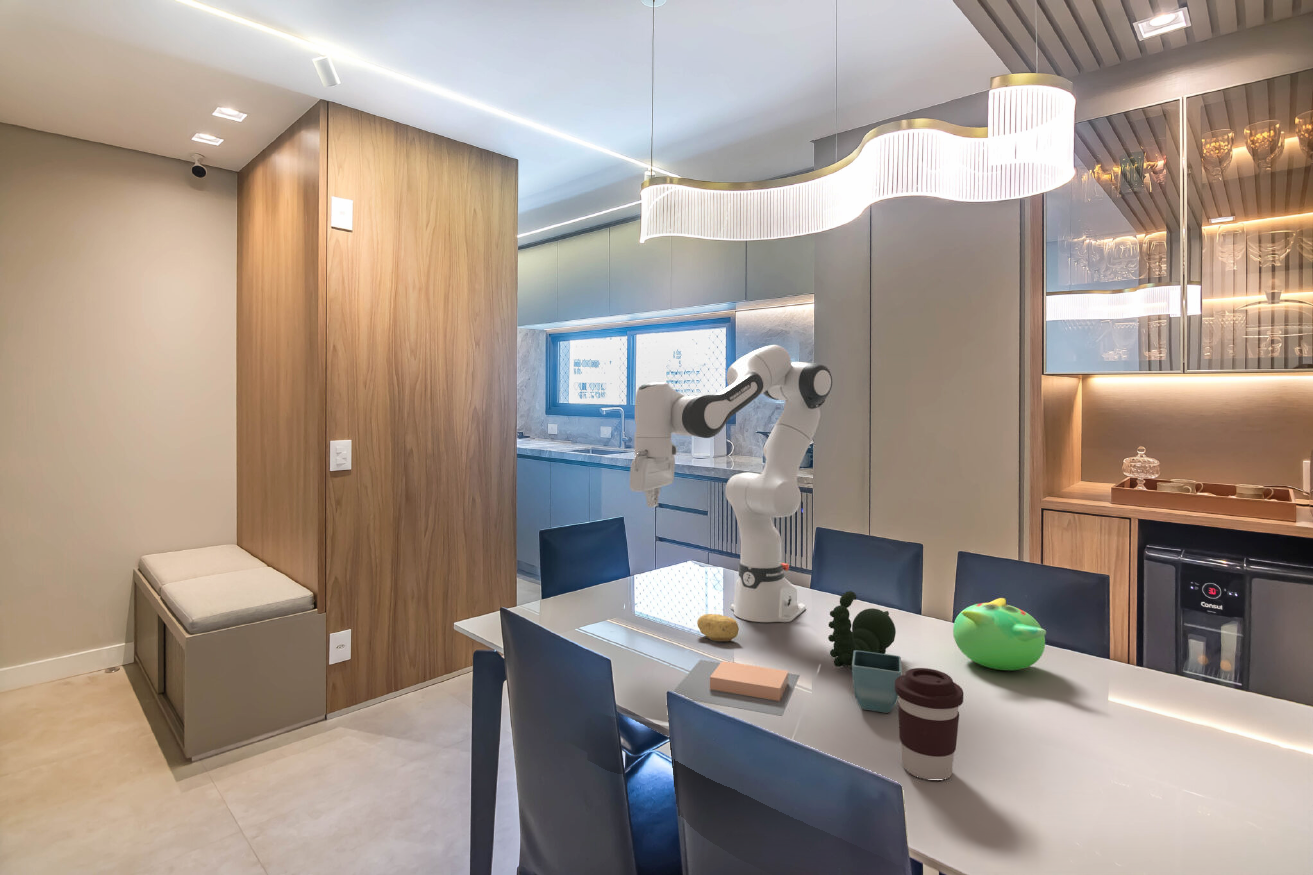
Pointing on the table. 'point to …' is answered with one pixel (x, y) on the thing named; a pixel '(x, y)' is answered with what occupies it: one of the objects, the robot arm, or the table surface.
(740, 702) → the mat
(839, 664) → the toy figurine
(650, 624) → the table surface
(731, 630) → the potato
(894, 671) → the flower pot
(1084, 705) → the table surface
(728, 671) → the block
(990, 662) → the squishy toy
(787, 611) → the robot arm
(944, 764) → the coffee cup
